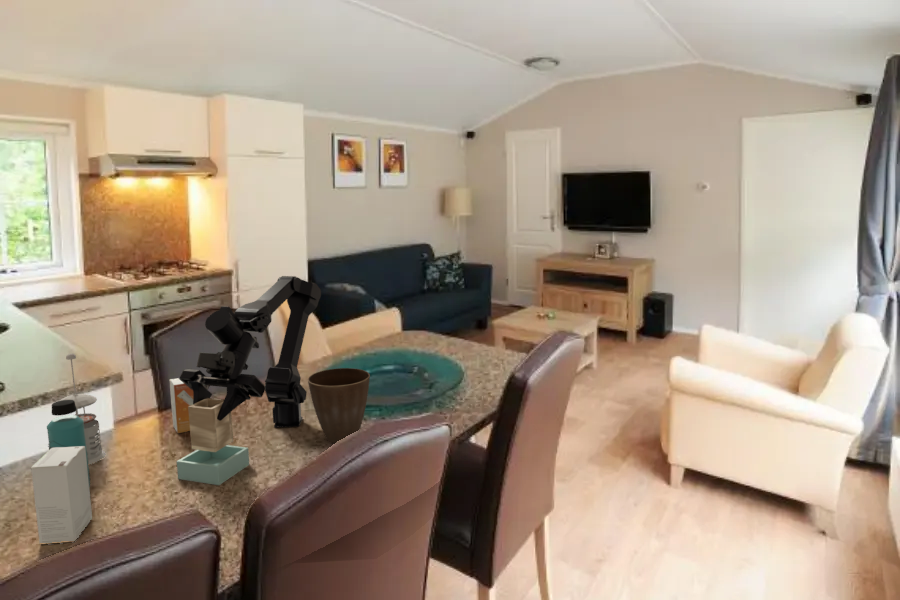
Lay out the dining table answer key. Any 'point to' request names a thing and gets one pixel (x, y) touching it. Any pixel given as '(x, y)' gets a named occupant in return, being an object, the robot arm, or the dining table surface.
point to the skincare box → (61, 494)
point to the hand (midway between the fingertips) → (206, 418)
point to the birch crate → (209, 426)
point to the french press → (87, 422)
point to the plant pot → (339, 400)
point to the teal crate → (213, 464)
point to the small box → (180, 404)
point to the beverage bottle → (66, 428)
